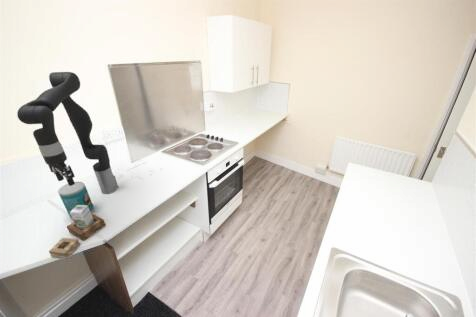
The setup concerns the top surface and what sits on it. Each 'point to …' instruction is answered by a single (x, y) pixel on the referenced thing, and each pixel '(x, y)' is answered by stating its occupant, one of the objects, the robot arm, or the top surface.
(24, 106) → the robot arm
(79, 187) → the food can
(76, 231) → the brown wooden square frame
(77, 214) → the syrup box
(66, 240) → the tan wooden square frame
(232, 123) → the top surface
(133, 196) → the top surface
